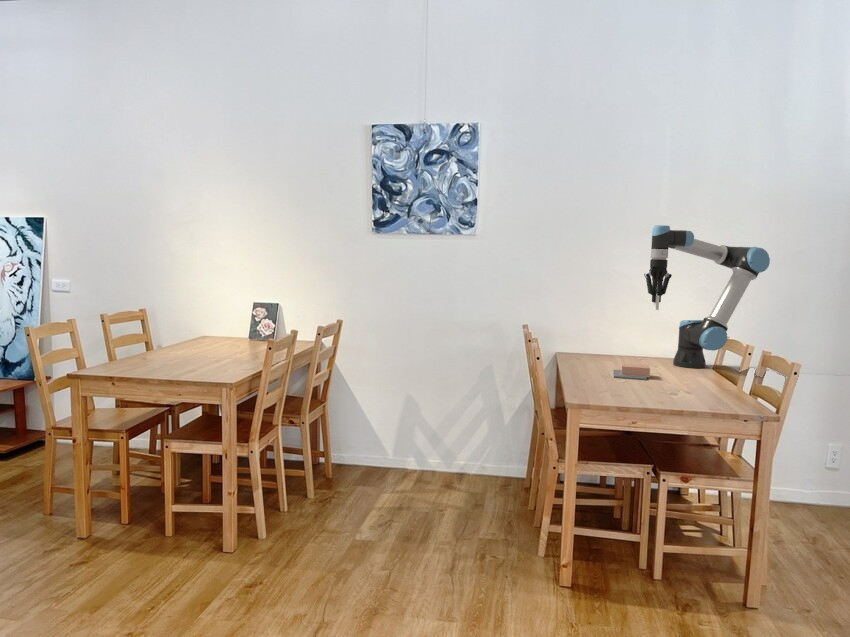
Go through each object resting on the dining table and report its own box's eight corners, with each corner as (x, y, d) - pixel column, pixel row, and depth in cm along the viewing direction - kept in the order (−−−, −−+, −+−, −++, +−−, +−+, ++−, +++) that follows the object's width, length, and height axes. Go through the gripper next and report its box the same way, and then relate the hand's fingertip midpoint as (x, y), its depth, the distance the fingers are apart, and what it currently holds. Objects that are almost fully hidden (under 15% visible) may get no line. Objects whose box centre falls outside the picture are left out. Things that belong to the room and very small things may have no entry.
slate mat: (644, 373, 306) (644, 371, 306) (646, 380, 291) (646, 378, 291) (613, 371, 310) (613, 369, 310) (613, 377, 294) (613, 375, 294)
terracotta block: (648, 364, 302) (621, 362, 305) (650, 368, 293) (622, 366, 296) (648, 373, 302) (621, 371, 306) (649, 377, 294) (621, 375, 297)
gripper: (650, 258, 302) (646, 310, 304) (676, 259, 304) (672, 310, 307) (642, 258, 309) (638, 308, 312) (667, 258, 311) (664, 308, 314)
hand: (655, 309), depth 309 cm, fingers closed
